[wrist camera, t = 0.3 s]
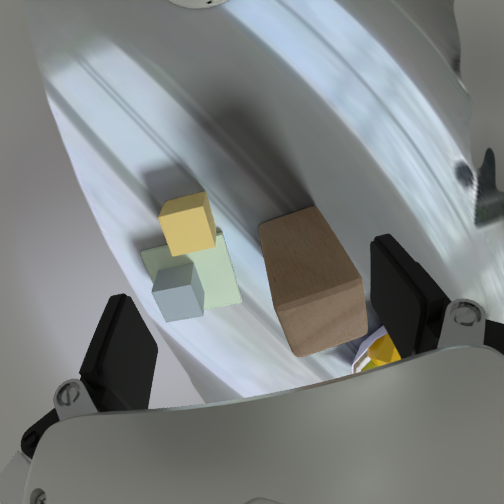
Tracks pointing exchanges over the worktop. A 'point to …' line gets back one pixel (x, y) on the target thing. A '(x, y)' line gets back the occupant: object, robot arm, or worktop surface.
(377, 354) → the fruit bowl
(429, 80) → the worktop surface
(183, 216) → the ochre brick
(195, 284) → the slate brick
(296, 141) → the worktop surface
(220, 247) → the plate
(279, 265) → the block
